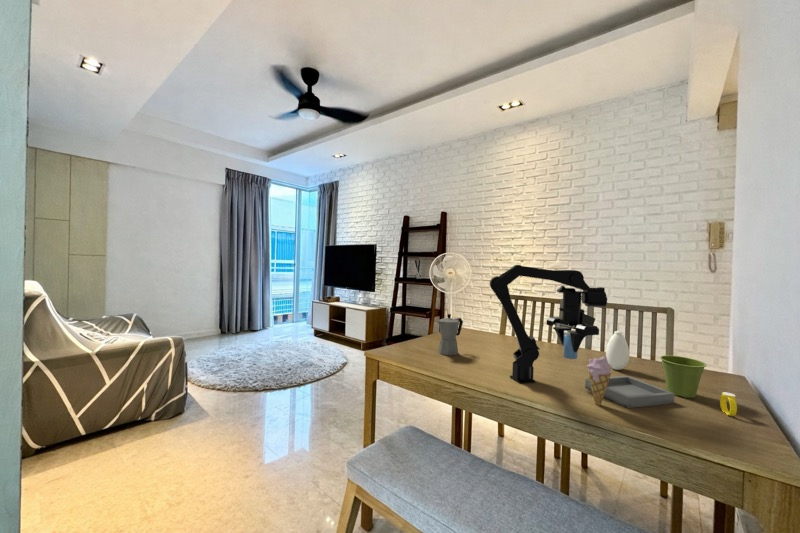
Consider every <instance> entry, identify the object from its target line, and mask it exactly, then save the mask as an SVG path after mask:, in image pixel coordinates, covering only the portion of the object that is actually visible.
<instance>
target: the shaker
mask: <svg viewBox="0 0 800 533" xmlns="http://www.w3.org/2000/svg"><path fill="white" fill-rule="evenodd" d="M570 332H575V329H573V330H572V329H571V330H564V347H563V346H562V347H563V348H562V350H563V353H562V354H563V356H562V357H563V358H565V359H569V360H577V359H578V351H577V352H574V350H573V346H572V341H571V335H570Z"/></svg>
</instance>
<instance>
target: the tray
mask: <svg viewBox="0 0 800 533" xmlns="http://www.w3.org/2000/svg"><path fill="white" fill-rule="evenodd" d="M584 380H585V381H584V382H585V384H584V388H585V389H587V390H588V391H591V392H592V390H591V385H590V381H589V378H585V379H584ZM675 396H676V395H675V393H672V392H669V391H667V389H664V388H661V387H659V386H656V385H653V384H651V383H647V382H645V381H642V380H639V379H637V378H635V377H633V376H632V377H631V376H629V375H620V376H610V379H609V383H608V386H607V389H606V392H605V395H604V397H603V398H604V399H605V398H606V399H607V400H610V401H612V402H614V403H616V404H618V405H620V406H622V407H624V408H626V409H634V408H643V407H651V406H660V405H661V406H662V405H668V404H675Z"/></svg>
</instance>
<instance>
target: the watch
mask: <svg viewBox="0 0 800 533" xmlns="http://www.w3.org/2000/svg"><path fill="white" fill-rule="evenodd" d="M727 400H728V401H727ZM727 402H729V409H728V405H727ZM719 404H720V409H721V411H722V412H723V413H724V412H725V413H726V414H727V415H729V416H728V417H733V416H734V417H735V416H736V415H737V412H738V404H737V402H736V395H735V394H734V393H732V392H731V393H730V392H726V391H725V392H724V391H723V392H721V395H720V398H719ZM725 413H724V414H725ZM726 414H725V415H726ZM727 415H726V416H727Z"/></svg>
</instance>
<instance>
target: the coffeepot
mask: <svg viewBox="0 0 800 533" xmlns="http://www.w3.org/2000/svg"><path fill="white" fill-rule="evenodd" d="M446 316H447V317H444V318H441V319H438V321H437V324H438V325H439V334H440V335H441V337H440V338H439V339H440V340H439V346H438V350H437V351H438V354H440V355H443V356H456V355H458V354H459V347H458V341H457V336H460V334H461V331H462V328H463V323H464V322H463V320H462V318H461V317H457V318H452V317H451V316H452V314H451V313H447V315H446Z"/></svg>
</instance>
